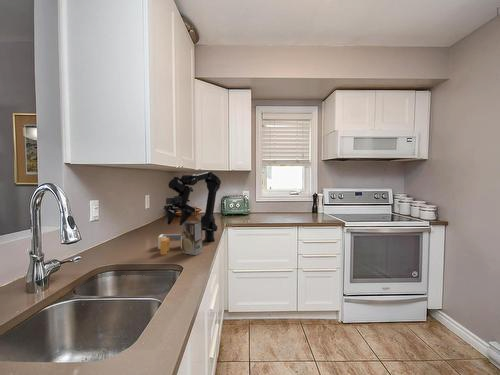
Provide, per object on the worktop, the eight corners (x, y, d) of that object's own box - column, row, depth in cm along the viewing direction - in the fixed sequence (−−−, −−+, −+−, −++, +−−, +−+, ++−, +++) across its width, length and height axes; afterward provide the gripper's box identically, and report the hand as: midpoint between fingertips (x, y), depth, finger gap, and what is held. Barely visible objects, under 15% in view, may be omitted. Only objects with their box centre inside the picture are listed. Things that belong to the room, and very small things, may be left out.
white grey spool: (158, 249, 140) (158, 236, 139) (161, 245, 147) (160, 233, 146) (188, 248, 142) (188, 235, 141) (189, 245, 148) (189, 233, 148)
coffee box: (203, 252, 135) (203, 222, 134) (195, 255, 129) (195, 224, 128) (189, 249, 139) (189, 220, 138) (181, 252, 133) (181, 222, 133)
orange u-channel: (163, 250, 137) (163, 237, 137) (169, 250, 137) (169, 237, 137) (160, 254, 130) (160, 240, 130) (166, 254, 130) (166, 240, 130)
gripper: (160, 191, 135) (150, 219, 130) (184, 189, 125) (174, 220, 119) (176, 199, 143) (167, 226, 138) (199, 198, 133) (191, 227, 127)
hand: (174, 224), depth 130 cm, fingers open, 9 cm apart
